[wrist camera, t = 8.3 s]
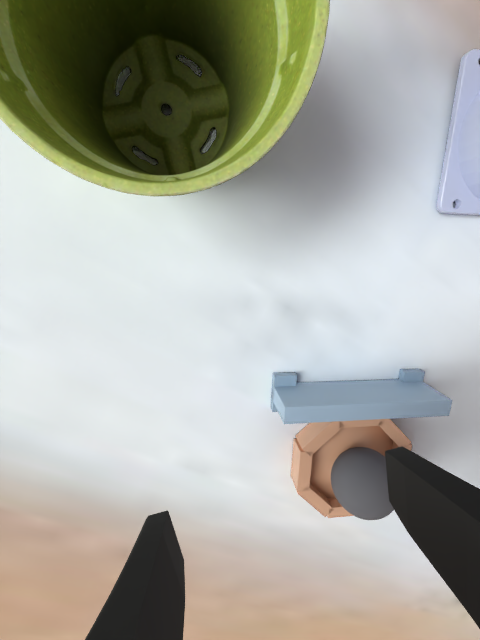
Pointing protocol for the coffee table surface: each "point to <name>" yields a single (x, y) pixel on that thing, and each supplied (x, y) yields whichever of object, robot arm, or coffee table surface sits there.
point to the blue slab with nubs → (356, 399)
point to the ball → (361, 483)
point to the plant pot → (156, 84)
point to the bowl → (323, 449)
